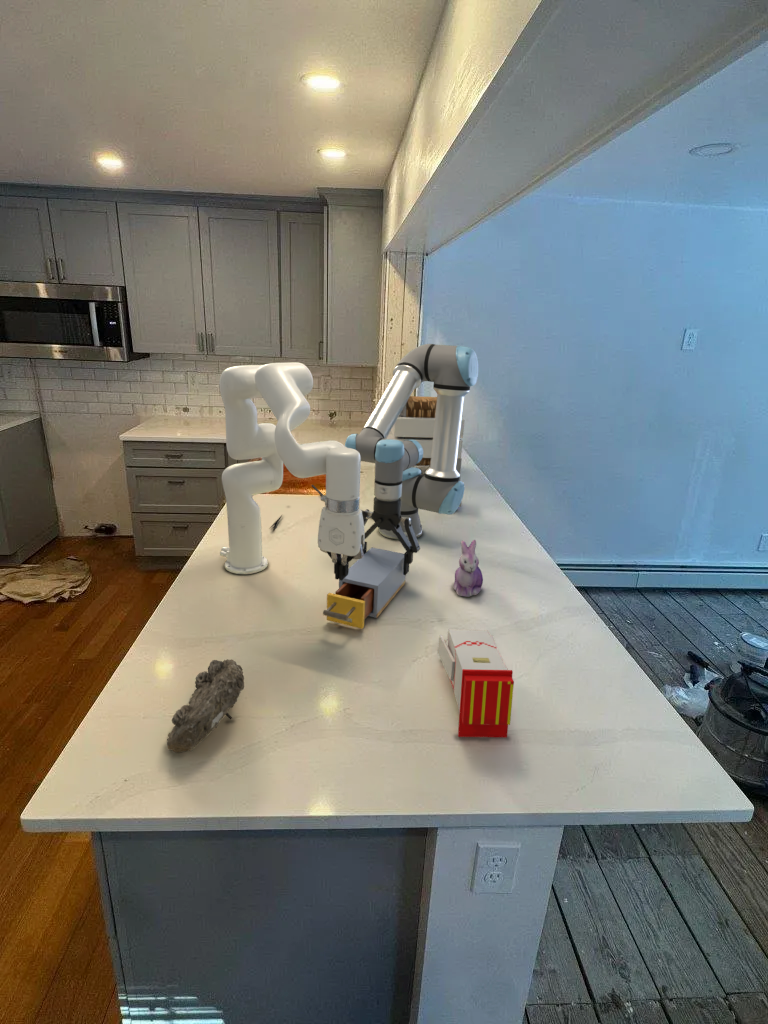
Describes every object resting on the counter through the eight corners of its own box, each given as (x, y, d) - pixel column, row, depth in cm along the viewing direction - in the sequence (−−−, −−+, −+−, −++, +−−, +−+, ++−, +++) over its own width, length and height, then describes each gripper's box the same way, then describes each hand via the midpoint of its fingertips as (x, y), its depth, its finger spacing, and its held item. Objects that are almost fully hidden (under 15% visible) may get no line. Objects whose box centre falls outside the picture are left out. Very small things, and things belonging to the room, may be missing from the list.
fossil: (192, 660, 117) (244, 628, 112) (224, 691, 120) (276, 661, 115) (142, 746, 98) (202, 712, 93) (182, 779, 101) (242, 748, 96)
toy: (488, 613, 130) (523, 677, 101) (484, 667, 133) (517, 744, 104) (435, 612, 130) (455, 676, 101) (432, 666, 133) (451, 743, 103)
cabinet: (376, 618, 145) (378, 586, 142) (338, 608, 149) (338, 577, 146) (405, 583, 164) (406, 554, 161) (370, 575, 168) (371, 547, 165)
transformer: (382, 463, 289) (386, 382, 275) (445, 464, 293) (451, 384, 279) (390, 482, 257) (394, 392, 243) (460, 483, 261) (468, 394, 247)
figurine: (464, 601, 155) (469, 550, 150) (443, 585, 164) (448, 537, 159) (492, 594, 159) (497, 545, 154) (470, 579, 168) (475, 532, 163)
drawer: (352, 640, 133) (353, 613, 131) (316, 631, 136) (316, 604, 134) (392, 593, 156) (393, 569, 154) (359, 586, 159) (360, 562, 157)
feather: (289, 509, 222) (291, 505, 221) (271, 533, 195) (274, 529, 195) (285, 506, 222) (288, 503, 221) (267, 531, 195) (270, 526, 195)
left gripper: (304, 503, 126) (305, 577, 132) (366, 514, 121) (364, 590, 127) (320, 493, 132) (320, 565, 139) (379, 504, 127) (376, 577, 134)
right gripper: (340, 494, 155) (339, 565, 162) (426, 508, 147) (421, 582, 154) (352, 486, 162) (350, 555, 169) (434, 500, 153) (429, 571, 161)
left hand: (341, 577), depth 133 cm, fingers closed
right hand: (384, 568), depth 161 cm, fingers open, 12 cm apart
